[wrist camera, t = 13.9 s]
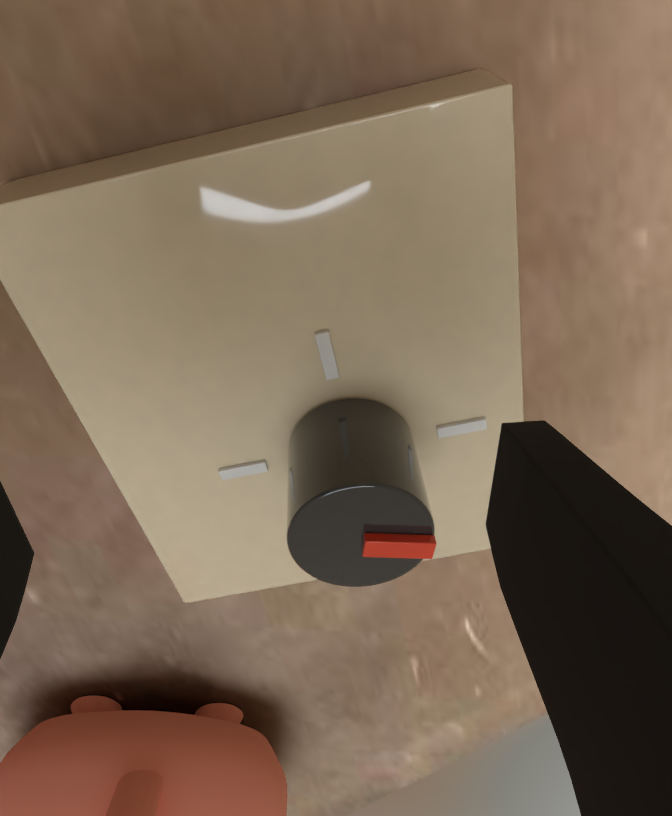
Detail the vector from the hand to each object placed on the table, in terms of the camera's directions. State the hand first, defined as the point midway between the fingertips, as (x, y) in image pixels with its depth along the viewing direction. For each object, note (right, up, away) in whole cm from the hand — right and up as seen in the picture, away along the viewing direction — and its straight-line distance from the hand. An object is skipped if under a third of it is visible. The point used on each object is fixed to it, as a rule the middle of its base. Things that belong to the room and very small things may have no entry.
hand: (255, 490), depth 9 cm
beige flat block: (0, +2, +10) cm, 10 cm away
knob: (+2, 0, +9) cm, 9 cm away
